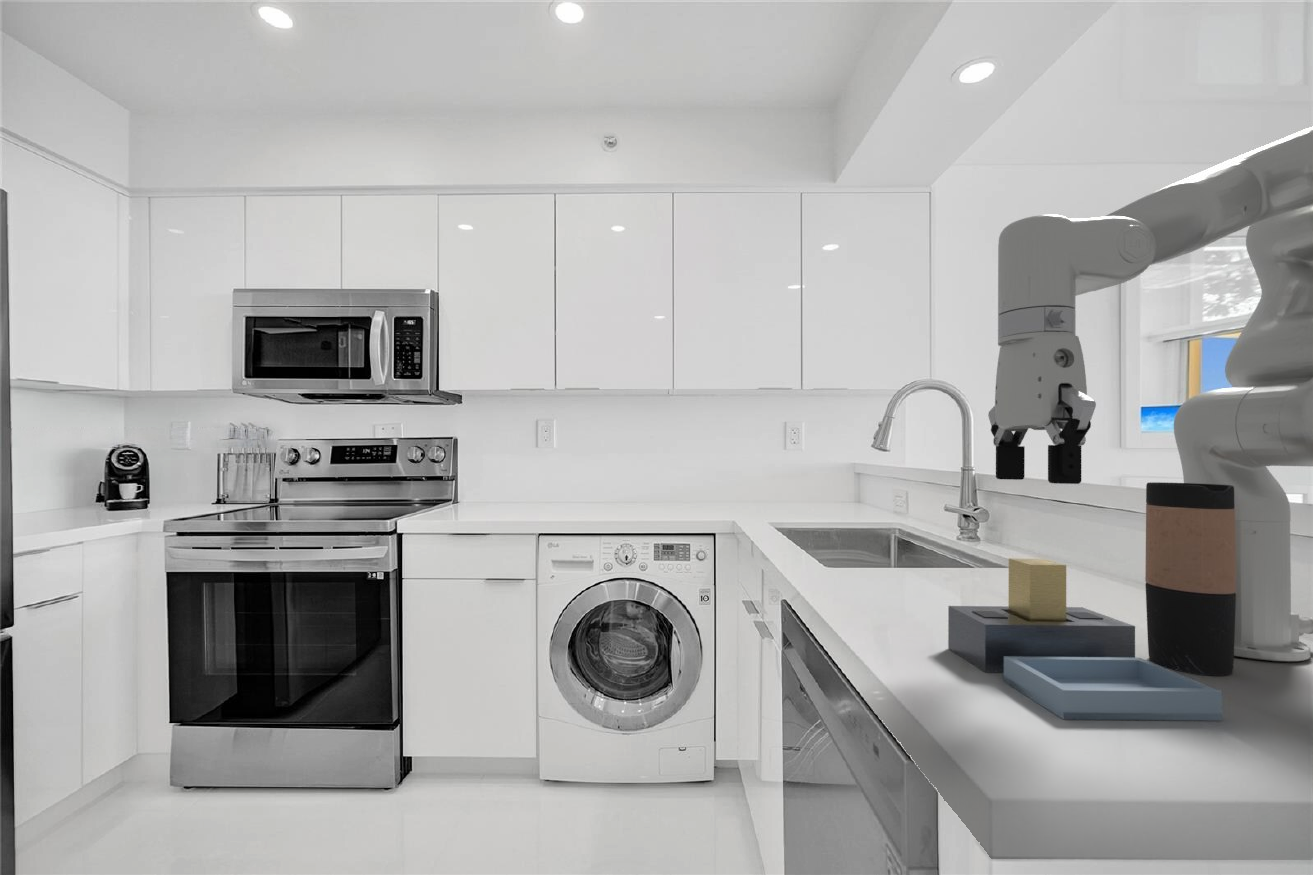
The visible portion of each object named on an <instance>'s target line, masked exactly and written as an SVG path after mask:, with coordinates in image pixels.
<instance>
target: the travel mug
mask: <svg viewBox="0 0 1313 875" xmlns="http://www.w3.org/2000/svg"><path fill="white" fill-rule="evenodd" d="M1145 487H1146V488H1145V493H1146V494H1145V495H1146V496H1145V500H1146V501H1145V503H1146V505H1145V578H1144V579H1145V603H1146V605H1145V606H1146V629H1147V648H1148V652H1147V653H1148V657H1149V660H1150V662H1152V663H1154V664H1156V665H1159V666H1161V667H1164V668H1166V669H1170V670H1173V671H1174V670H1175V671H1179V672H1183V673H1187V674H1193V675H1201V676H1210V677H1211V676H1212V677H1224V676H1225V677H1226V676H1231V675H1232V674H1233V672H1234V664H1235V663H1234V661H1235V660H1234V659H1235V656H1234V639H1235V611H1236V557H1235V509H1234V508H1235V505H1234V486H1232V485H1219V484H1197V483H1184V482H1157V481H1156V482H1147V483H1146V486H1145Z"/></svg>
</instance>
